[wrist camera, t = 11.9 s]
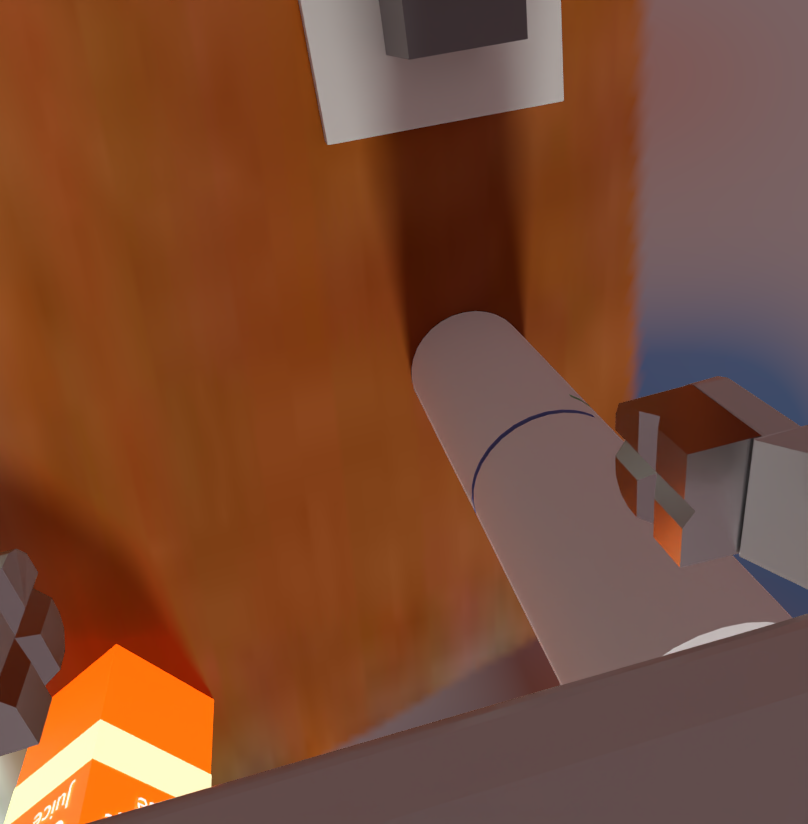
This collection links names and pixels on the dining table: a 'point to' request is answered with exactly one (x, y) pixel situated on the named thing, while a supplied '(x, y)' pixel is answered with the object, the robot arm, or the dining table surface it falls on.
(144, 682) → the orange juice
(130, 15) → the dining table surface
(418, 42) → the dark grey cube block
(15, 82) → the dining table surface
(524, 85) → the shaft base
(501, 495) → the cylindrical container
